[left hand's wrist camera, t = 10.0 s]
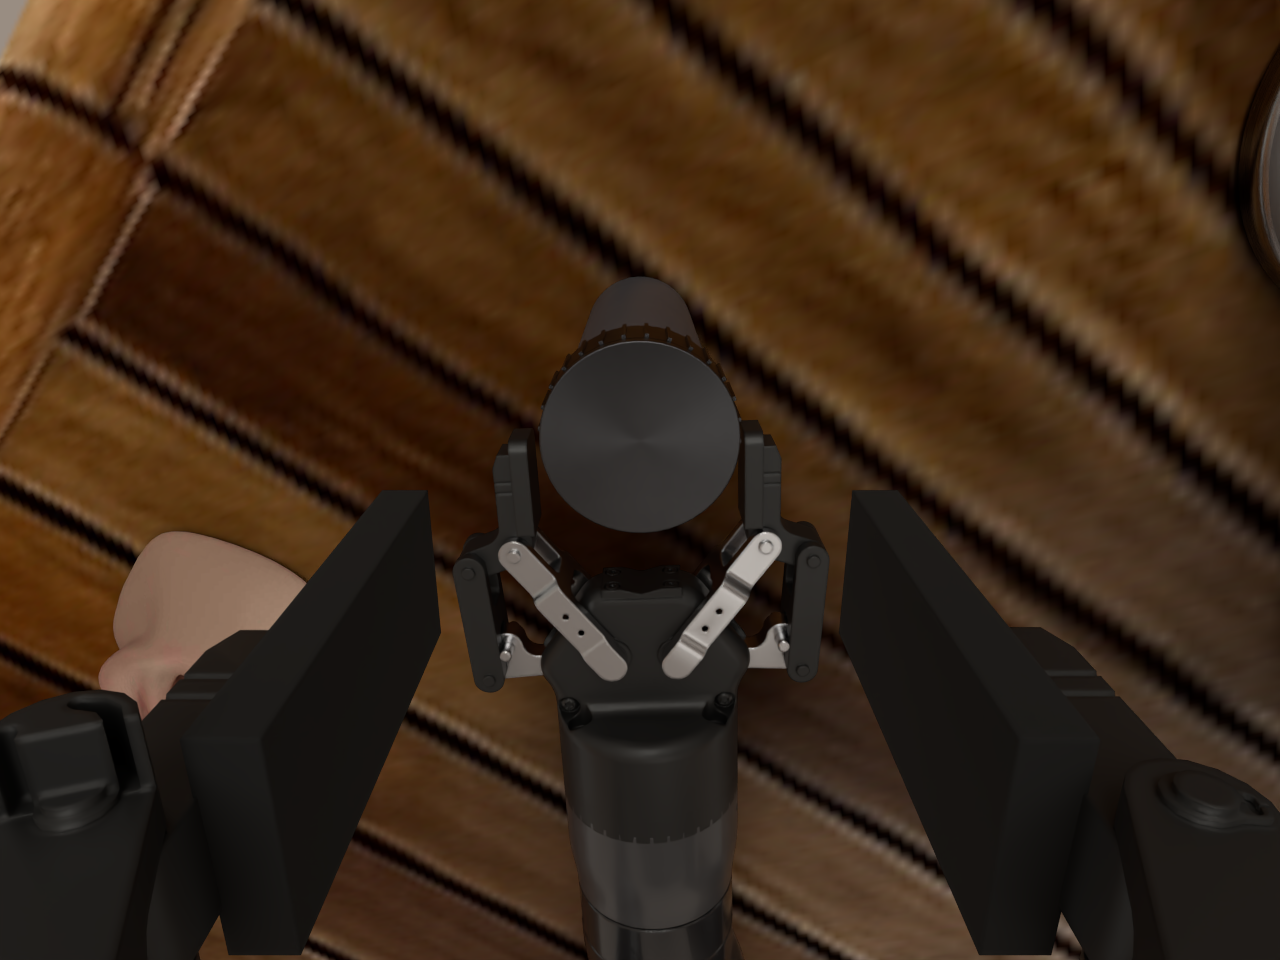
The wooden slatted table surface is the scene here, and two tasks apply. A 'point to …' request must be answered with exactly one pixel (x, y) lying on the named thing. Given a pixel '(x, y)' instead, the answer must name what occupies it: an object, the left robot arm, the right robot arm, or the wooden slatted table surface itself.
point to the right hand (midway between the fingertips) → (634, 429)
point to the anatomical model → (188, 610)
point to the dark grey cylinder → (640, 308)
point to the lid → (639, 429)
